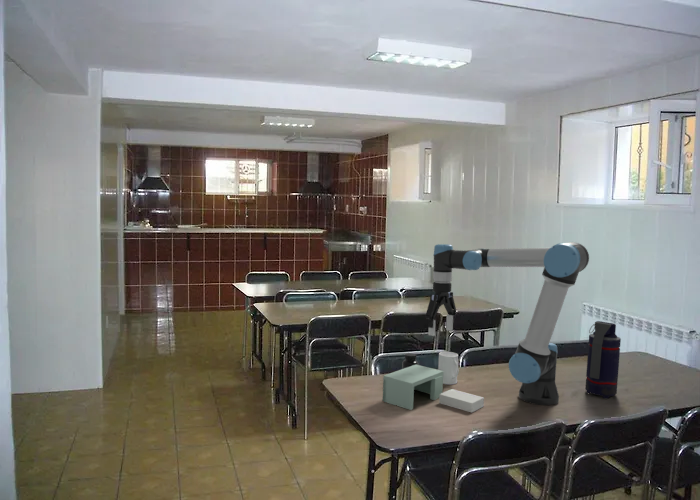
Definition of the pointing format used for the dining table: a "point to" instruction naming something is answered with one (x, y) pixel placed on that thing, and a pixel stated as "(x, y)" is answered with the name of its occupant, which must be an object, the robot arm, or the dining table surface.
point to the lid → (461, 400)
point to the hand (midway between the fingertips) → (440, 332)
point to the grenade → (603, 360)
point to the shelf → (411, 385)
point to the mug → (448, 367)
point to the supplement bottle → (409, 360)
